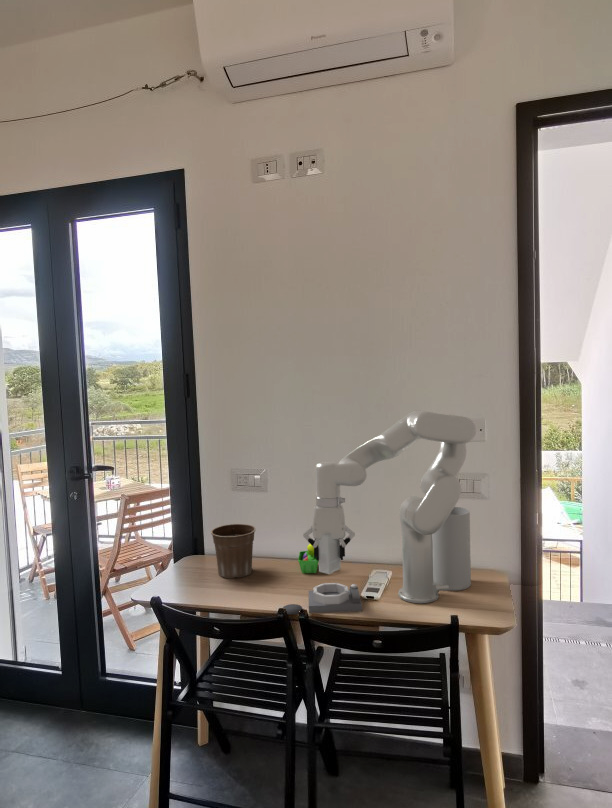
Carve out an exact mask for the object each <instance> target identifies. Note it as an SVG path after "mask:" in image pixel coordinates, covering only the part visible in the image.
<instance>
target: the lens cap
mask: <svg viewBox="0 0 612 808" xmlns="http://www.w3.org/2000/svg"><path fill="white" fill-rule="evenodd" d="M282 608H285V609H286V611H287V614H286V615H298V614H300V613H299V611H300V610H301V609H302V610H303V606H302V605H300V604H295V603H290V604H286V605H284V606H283V607H282Z"/></svg>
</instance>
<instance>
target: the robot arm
mask: <svg viewBox="0 0 612 808" xmlns="http://www.w3.org/2000/svg"><path fill="white" fill-rule="evenodd" d="M476 433H477V427H476V424H475V423H474V421H473V420H471V419H470V418H468V417H467V416H463V415H456V414H455V415H454V414H444V413H438V412H431V411H425V410H414V411H411V412H409V413H407V414H406V415H405V416H404V417H402V418H401V419H399V420H398V421H396V423H394V424H393V425H391V426H390V427H389V428H387V429H386V430H384V431H383V432H382V433H380V434H379V435H377V436H375V437H373V438H371V439H370V440H368V441H366V442H365V443H364V444H361V445H359V446H358V447H356V448H355V449H354V450H352V451H351V452H350V453H348V454H346V455H345V456H344V457H343V458H342V459H340V460H339V462H336V461H321V462H318V463H317V464H315V499H316V500H315V501H316V503H315V504H316V505H314V506H313V510H312V521H311V522H312V525H311V526H310V527H309V528H308V529H307V530H305V531H304V533H303V534H302V536H303V538H304V539H305V540H306V541H307V542H308V543H309V544H311V545H312V546H313V547H314V557H316V561H318V560H319V549H318V543H319V540H320V539H322V535H325V534H331V535H332V539H339V541H340V561H344V557H346V547H347V545H348V544H349V543H350V542H351V540H352V539H353V538H354V537H355V536H356V535H355V534H356V533H355V532H354V531H353V530H352V529H351V528H349V526H347V525H346V519H345V517H346V516H345V510H344V506H343V503H346V497H342V496H341V486H344V487H358V486H361V485H363V483H365V481H366V479H367V475H368V474H367V469H368V468H369V467H371V466H372V465H374V464H377V463H379V462H382V461H385V460H387V461H388V460H391V459H394V458H396V457H398V456H399V455H401V454H402V453H403V452H404V451H406V450H407V449H409V448H410V447H411V446H413V445H414V444H416V442H418V441H419V440H421V439H422V440H426V441H431V442H439V443H440V444H439V450H438V452H437V453H436V456H435V458H433V461H431V464H430V465H429V467H428V469H427V470H426V471H425V473H424V474H423V476H422V477H421V480H420V485H419V486H420V487H419V488H420V490H421V492H422V493H423V494H424V496H423V498H422V497H420V496H409V497H408V498H405V499H404V500H403V501H402V503H401V504H400V507H399V522H400V530H401V551H402V552H401V554H402V555H401V556H402V560H401V561H402V587H401V588H399V590H398V594H397V595H398V597H399V599H401V600H403V601H405V602H409V603H412V604H413V603H414V604H429V603H433V602H435V601H437V600H438V599H439V595H440V594H439V592H449V591H450V590H449V586H448V585H443V583H435V582H434V581H433V541H432V534H434V533H435V532H437V531H438V530H439V529H440V528H441V526H442V525H443V524H444V522H445V521H446V519H447V518H448V516H449V514H450V513H451V511H452V510H453V508H454V507H456V505H457V503H458V502H459V500H460V497H461V494H462V486H461V485H462V484H461V482H460V480H459V479H458V478H457V476H458V474H459V472H460V471H461V469H462V467H463V465H464V463H465V460H466V456H467V444H468V443H470V442H471V441H472V440H474V438H475V436H476ZM311 533H312V536H313V538H314V539H313V538H312V537H311V536H310V535H311ZM346 533H347V534H348V535H347V536H346Z"/></svg>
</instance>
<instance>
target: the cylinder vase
mask: <svg viewBox="0 0 612 808" xmlns="http://www.w3.org/2000/svg"><path fill="white" fill-rule="evenodd" d="M470 513H471V511H470V509H468V508H466V507H461V506H455V507H454V508H453V510H452V511H451V513H450V514H449V516H448V518H447V519H446V521H445V522H444V524H443V525H442V526H441V528H440V529H439V530H438V531H437V532H435V533H434V534H432V541H433V581H434V582H435V583H443V585H448V586H449V591H464V590H467V589H469V588H470V586H471V585H472V575H471V574H472V571H471V569H472V568H471V566H472V565H471V564H472V563H471V562H472V561H471V520H470V519H471V517H470V516H471V514H470Z"/></svg>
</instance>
